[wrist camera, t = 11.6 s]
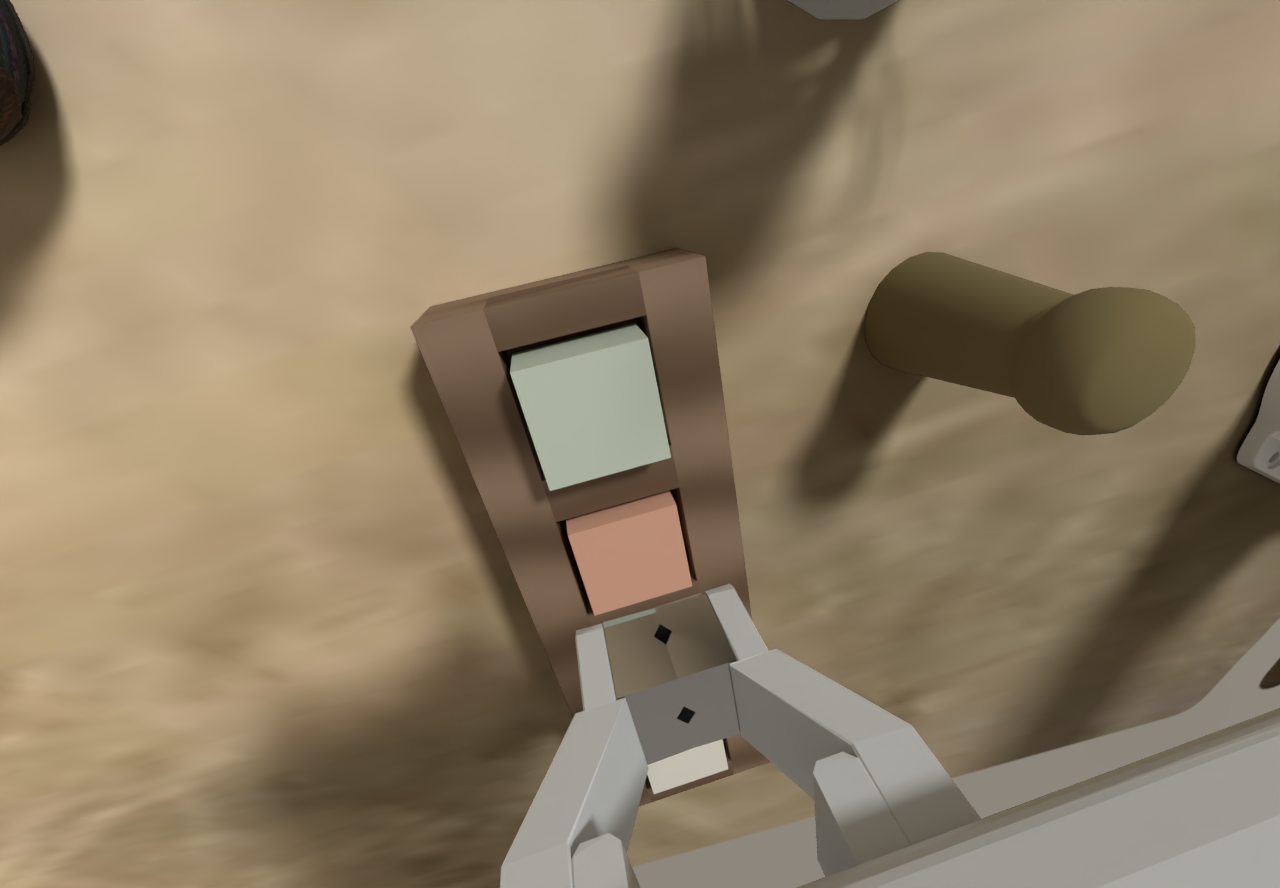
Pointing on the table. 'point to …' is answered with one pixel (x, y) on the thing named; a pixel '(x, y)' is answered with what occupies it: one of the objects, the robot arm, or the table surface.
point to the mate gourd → (14, 73)
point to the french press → (842, 8)
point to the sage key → (591, 405)
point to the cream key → (687, 766)
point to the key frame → (536, 517)
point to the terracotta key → (630, 552)
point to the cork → (1033, 341)
